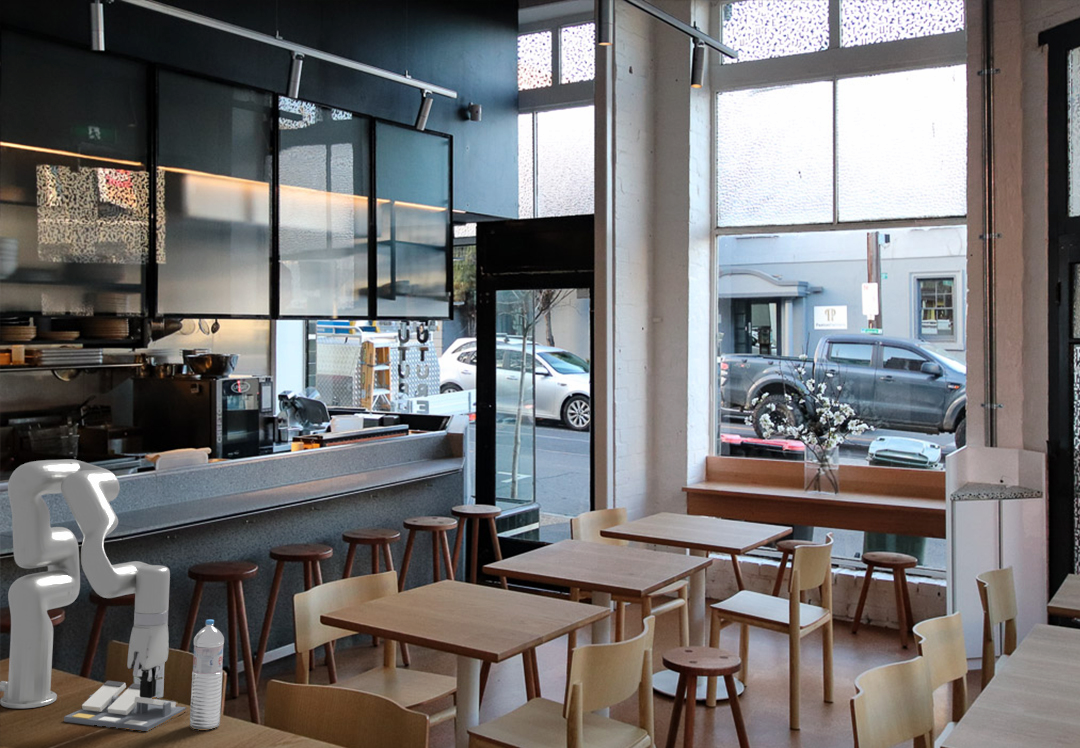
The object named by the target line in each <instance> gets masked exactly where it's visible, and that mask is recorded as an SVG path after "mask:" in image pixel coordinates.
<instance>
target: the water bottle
mask: <svg viewBox="0 0 1080 748" xmlns="http://www.w3.org/2000/svg"><path fill="white" fill-rule="evenodd" d="M214 625H215V620H214V619H213V618H212V619H206V620H205V626H204V627H203V628H201V629H200V630H199V631H198V632H197V633H196V635H195V636H194V638H193V661H192V662H193V663H192V673H191V675H192V676H191V679H192V680H191V692H190V716H189V726H191V727H193V728H195V729H212V728H215V727H217V728H218V727H219V726H220V723H221V711H222V693H223V692H222V691H223V690H222V689H223V672H224V671H223V659H224V658H223V657H224V643H225V637H224V635H223V633H222V632H221V631H220V630H219V629H218V628H217V627H215V626H214ZM191 727H190V728H191ZM215 729H216V728H215ZM212 730H213V729H212Z"/></svg>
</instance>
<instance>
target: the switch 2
mask: <svg viewBox="0 0 1080 748" xmlns="http://www.w3.org/2000/svg"><path fill="white" fill-rule="evenodd" d="M134 702H138V703H145V704H151V705H158V706H163V705H164V704H166V703H168V702H171V707H175V706H176V704H177V702H176V700H170V699H169V700H168V699H160V698H156V699H152V698H143V697H135V700H134Z"/></svg>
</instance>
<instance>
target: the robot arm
mask: <svg viewBox="0 0 1080 748" xmlns="http://www.w3.org/2000/svg"><path fill="white" fill-rule="evenodd" d="M120 489H121V488H120V481H119V479H118V477H117V476H116V474H114V473H113V472H112V471H110V470H109V469H107V468H104V467H101V466H98V465H94V464H91V463H88V462H86V461H81V460H77V459H72V458H71V459H65V458H64V459H45V460H36V461H35V460H34V461H29V462H25V463H24V464H20V465H19V466H18V467H17V468H15V470H13V472H12V474H11V475H10V477H9V479H8V483H7V495H8V496H7V497H8V499H9V506H10V511H11V515H12V516H11V518H12V519H11V521H12V523H11V524H12V525H11V527H12V546H13V547H12V548H13V549H12V550H13V559H14V562H15V564H16V565H17V566H18V567H19V568H22V569H37V568H43V567H47V571H41V572H35V573H31V574H26V575H24V576H20V577H18V578H17V579H16V580H15V581H14V582H12V584H11V585H10V586H9V589H8V592H7V593H8V594H7V598H8V607H9V612H10V643H9V644H10V645H9V662H8V681H6V680H1V681H0V692H3V696H2V697H1V698H0V705H1V706H2V707H4V708H7V709H8V708H9V709H32V708H33V709H34V708H39V707H40V708H41V707H43V706H48V705H51V704H53V703H54V702H55V701H56V700H57V698H58V694H57V693H56V692H54V691H52V690H51V688H52V687H51V685H52V683H51V682H52V666H53V645H54V626H53V625H54V624H53V622H52V620H51V618H50V615H49V614H48V611H49V610H53V609H58V608H62V607H66V606H69V605H71V604H72V603H74V602H75V600H76V599H77V598H78V596H79V594H80V589H81V572H80V564H81V566H82V567H81V568H82V570H83V573H84V575H85V577H86V578H87V580H88V583H89V584H90V586H91V588H92V589H93V590H94V592H95V593H96V594H97V595H99V596H100V597H102V598H104V599H105V598H106V599H113V598H117V597H122V596H125V595H132V594H134V596H135V597H134V614H133V615H134V616H133V617H134V619H133V626H132V629H131V632H130V633H131V634H130V637H129V643H128V644H129V646H128V654H127V668H128V669H130V670H133V672H132V676H133V677H134V676H138V677H139V680H140V697H144V698H152V697H154V696H155V695H156V679H157V678H158V672H159V670H160V668H162V667H163V666H164V667H165V662H167V661H168V659H169V658H168V657H169V649H170V648H169V638H170V637H169V636H170V635H169V626H168V625H169V607H170V606H169V604H170V603H169V600H170V582H171V581H170V580H171V578H170V577H171V572H170V568H169V567H167V566H166V565H159V564H158V565H156V564H149V563H145V562H143V561H139V560H138V561H136V560H135V561H133V560H132V561H128V562H121V563H116V564H111V562H110V560H109V558H108V557H107V554H106V551H105V547H104V545H105V544H104V542H105V539H106V537H107V536H108V535H109V534H111V533H112V532H113V531H114V530H115V529H116V528H117V527H118V525H119V518H118V516H117V514H116V512H115V511H114V508H113V507H112V505H111V504H110V502H112V501H114V500H115V499H116V498H117V497H118V496H119V494H120ZM55 494H56V495H57V494H61V495H62V497H63V498H64V501H65V503H66V504H67V506H68V508H69V510H70V512H71V513H72V516H73V517H74V519H75V521H76V524H77V525H78V528H79V529H80V531H81V533H82V535H83V540H82V544H81V550H80V551H79V543H78V539H77V538H76V535H75V534H74V533H73V531H72V530H70V529H68V527H64V526H53V527H51V513H50V510H49V506H48V504H47V503H46V501H45V499H43V497H42V496H44V495H55Z"/></svg>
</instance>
